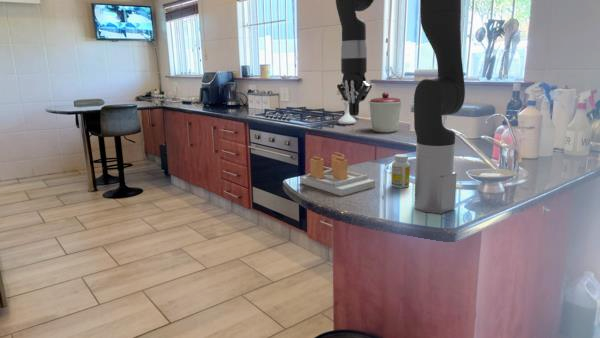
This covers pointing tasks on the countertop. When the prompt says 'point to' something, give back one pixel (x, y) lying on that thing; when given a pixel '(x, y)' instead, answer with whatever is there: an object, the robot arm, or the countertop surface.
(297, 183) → the countertop surface
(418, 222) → the countertop surface
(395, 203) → the countertop surface
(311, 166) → the tab
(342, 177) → the tab
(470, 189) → the countertop surface
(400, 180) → the supplement bottle
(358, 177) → the switch bank
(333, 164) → the tab
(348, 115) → the flower in vase
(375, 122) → the canister
